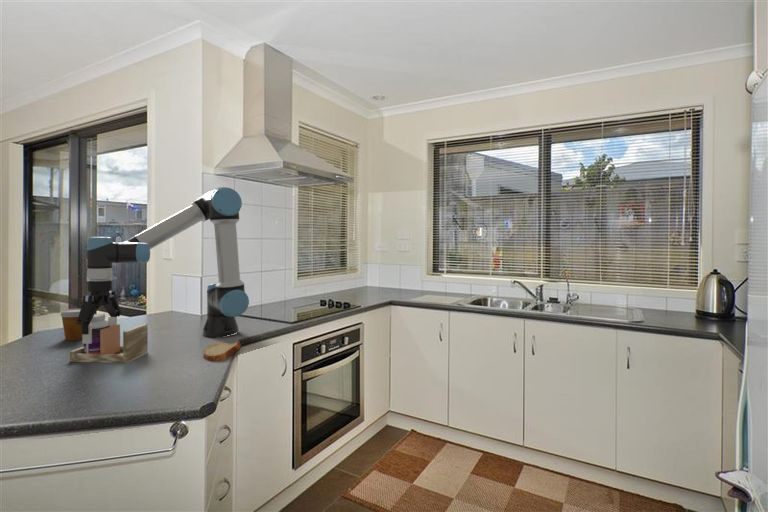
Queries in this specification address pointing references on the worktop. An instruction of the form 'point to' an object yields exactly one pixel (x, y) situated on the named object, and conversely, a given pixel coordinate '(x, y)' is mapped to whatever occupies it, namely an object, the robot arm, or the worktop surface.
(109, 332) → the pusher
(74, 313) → the disposable coffee cup
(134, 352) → the lane
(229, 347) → the slice of bread
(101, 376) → the worktop surface
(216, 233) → the robot arm
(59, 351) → the worktop surface
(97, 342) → the pill bottle
